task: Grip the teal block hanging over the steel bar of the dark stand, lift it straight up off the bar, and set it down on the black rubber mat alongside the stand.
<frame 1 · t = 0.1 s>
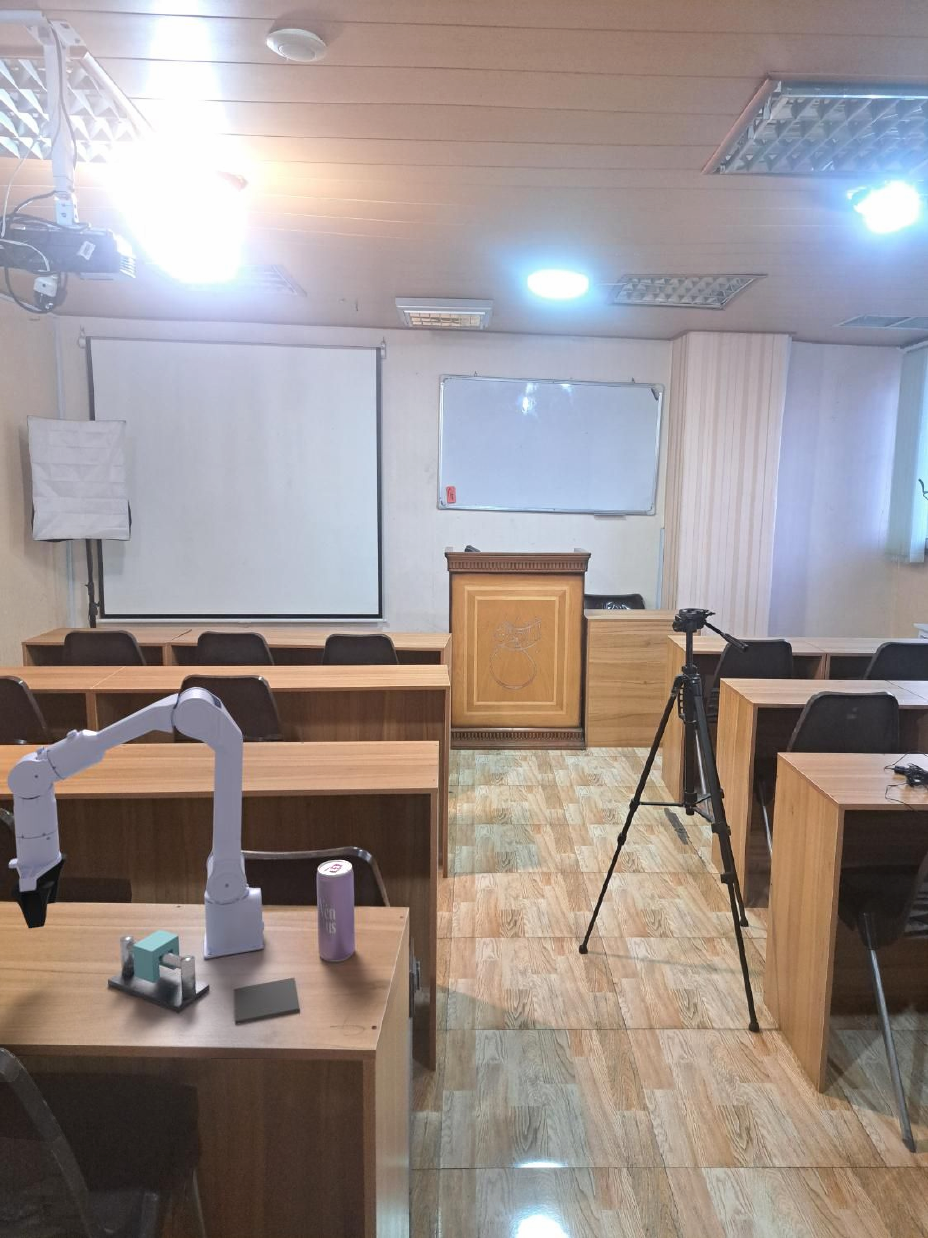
hand: (42, 914, 116), 10 cm above the table, tool pointing down, fingers open, 7 cm apart
stand: (158, 988, 113), on the table
mat: (266, 1001, 110), on the table
teal block: (157, 971, 113), point 3 cm above the table, touching stand
beverage can: (336, 954, 123), on the table
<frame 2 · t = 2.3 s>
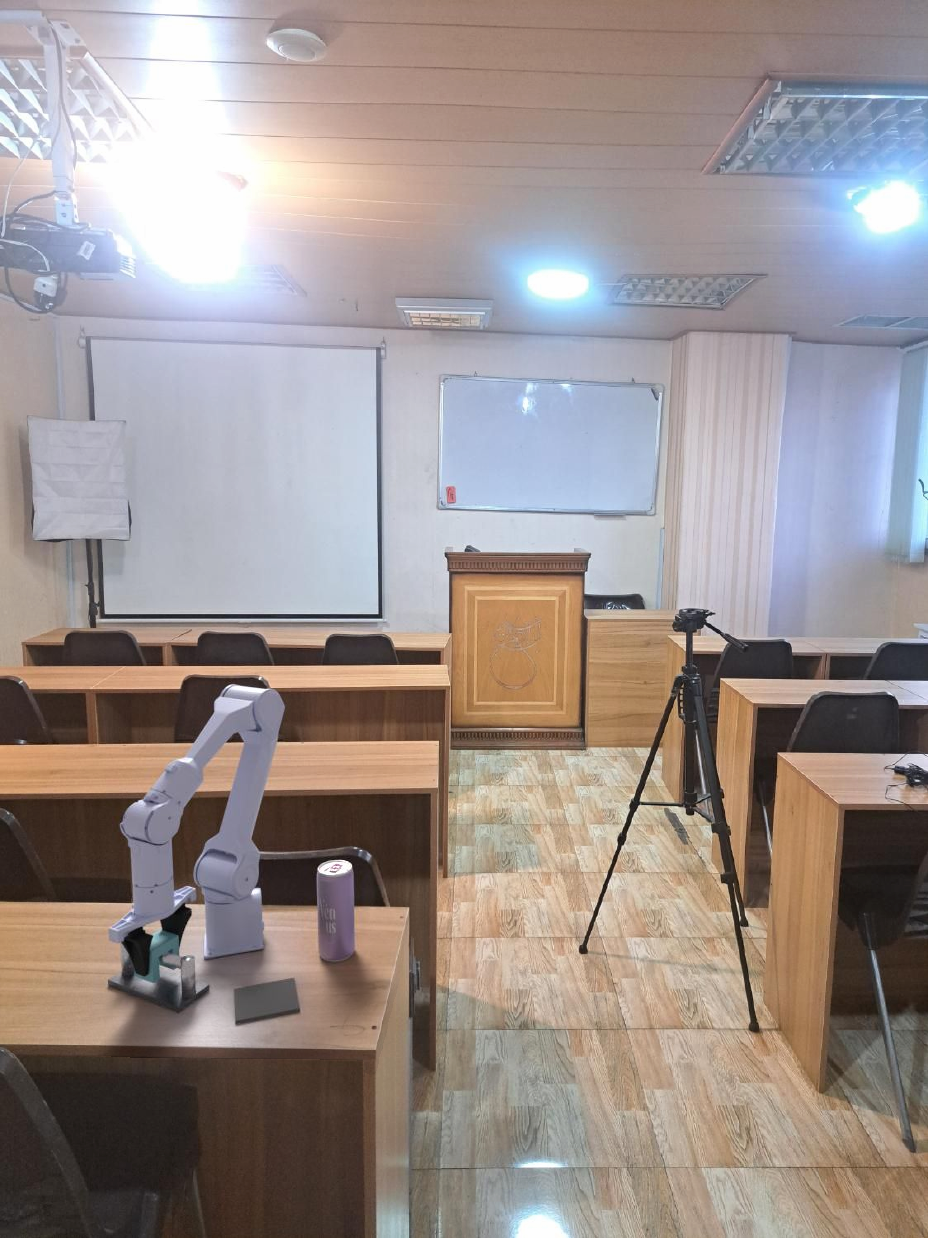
hand: (157, 964, 113), 4 cm above the table, tool pointing down, fingers closed on teal block, 5 cm apart
teal block: (157, 971, 113), point 3 cm above the table, touching gripper, stand
everything else where it was.
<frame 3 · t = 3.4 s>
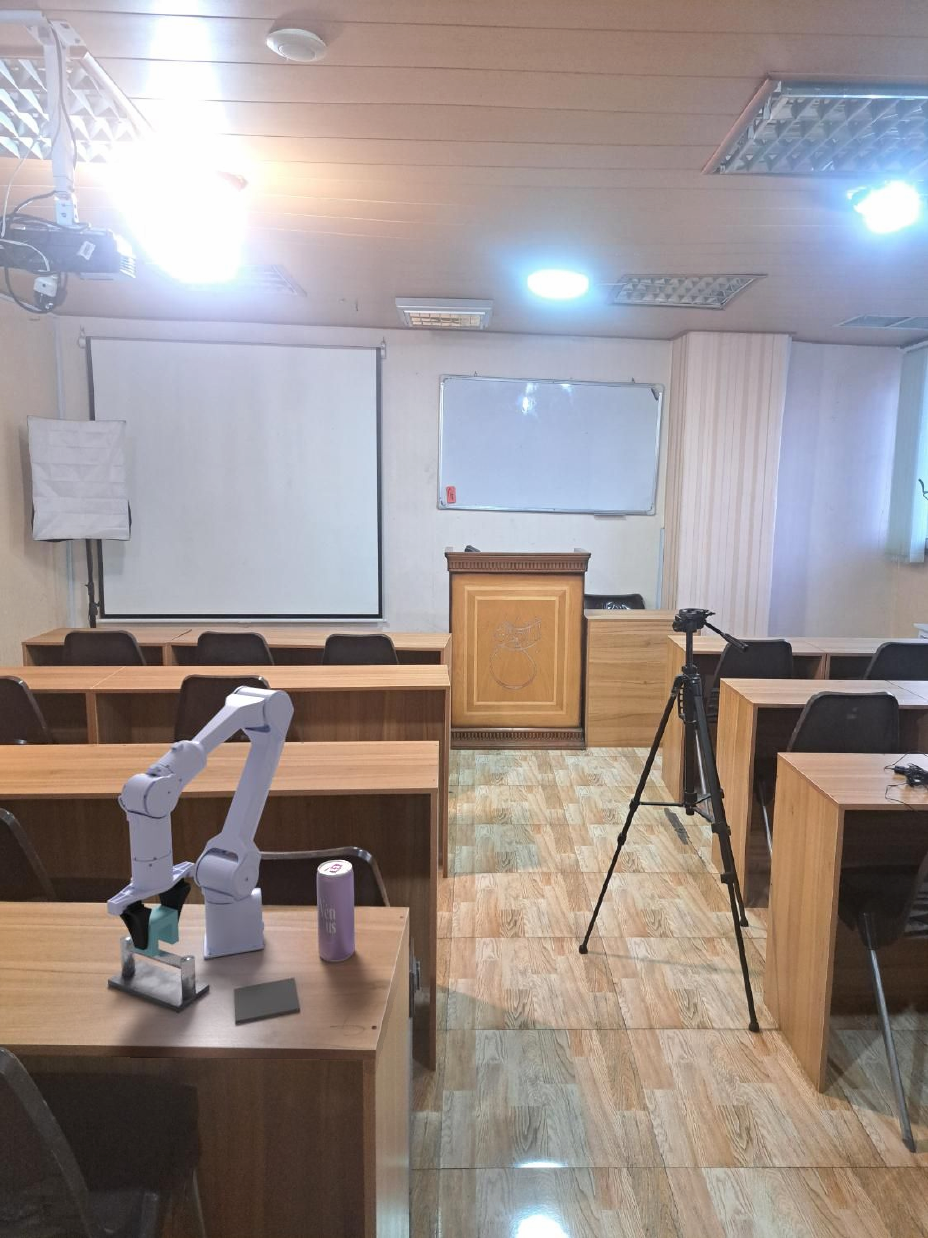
hand: (156, 938, 112), 8 cm above the table, tool pointing down, fingers closed on teal block, 5 cm apart
teal block: (156, 945, 113), point 7 cm above the table, touching gripper
everything else where it was.
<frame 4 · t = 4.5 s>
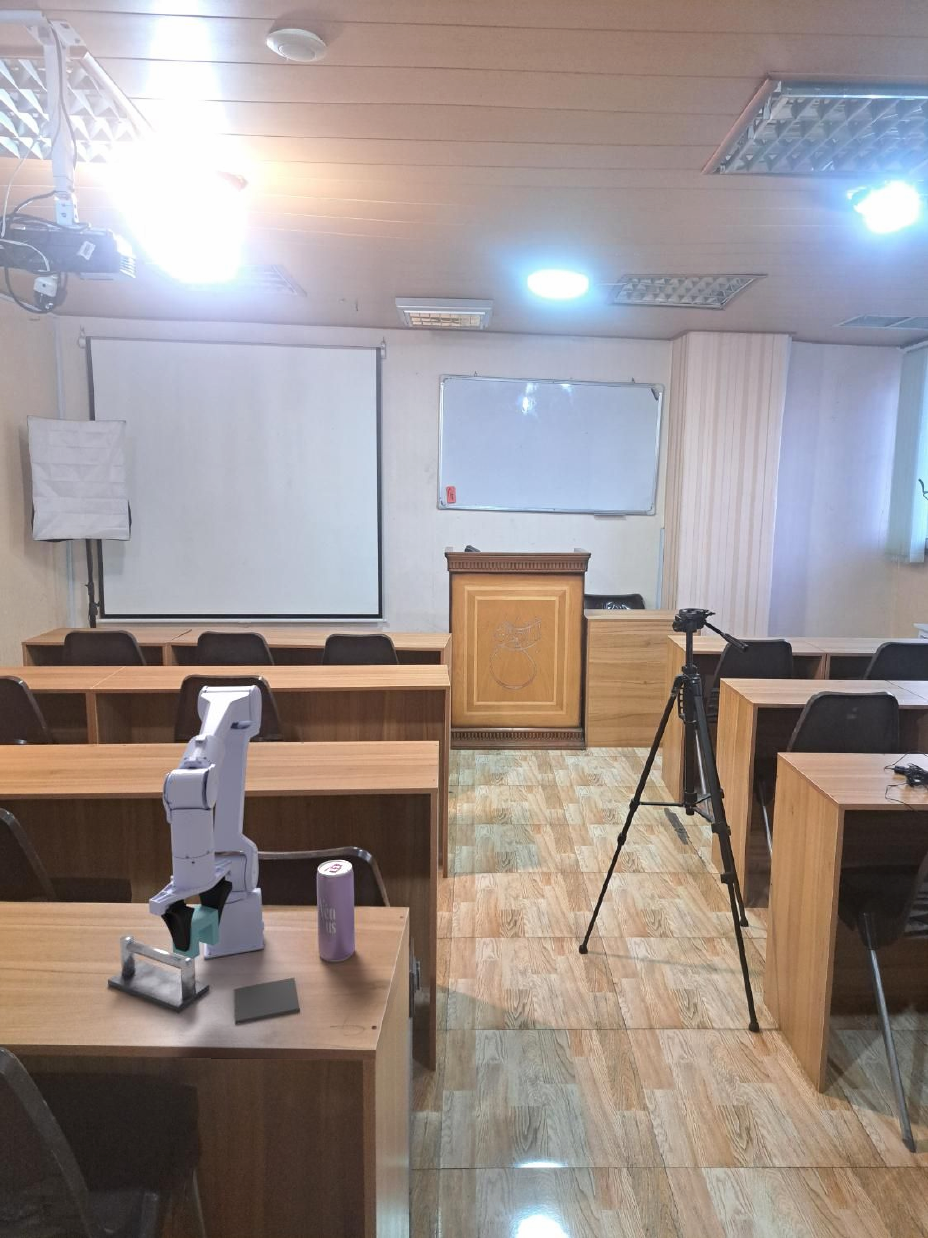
hand: (197, 940, 108), 10 cm above the table, tool pointing down, fingers closed on teal block, 5 cm apart
teal block: (196, 947, 108), point 9 cm above the table, touching gripper
everything else where it was.
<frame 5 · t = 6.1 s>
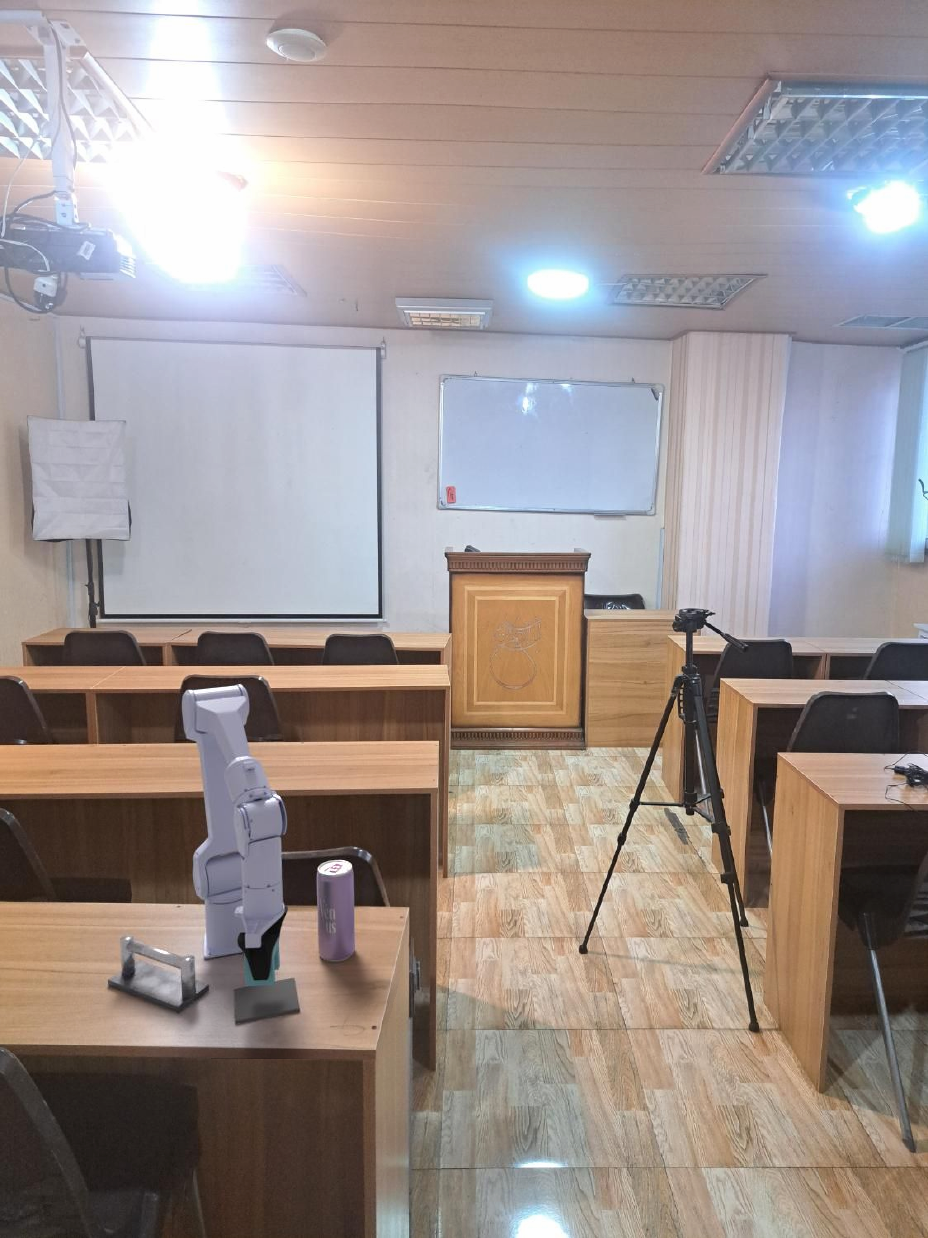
hand: (265, 968, 109), 5 cm above the table, tool pointing down, fingers closed on teal block, 5 cm apart
teal block: (263, 975, 109), point 4 cm above the table, touching gripper
everything else where it was.
when the fingers open (3 cm above the table, at t = 7.1 s): teal block drops 1 cm, resting on mat.
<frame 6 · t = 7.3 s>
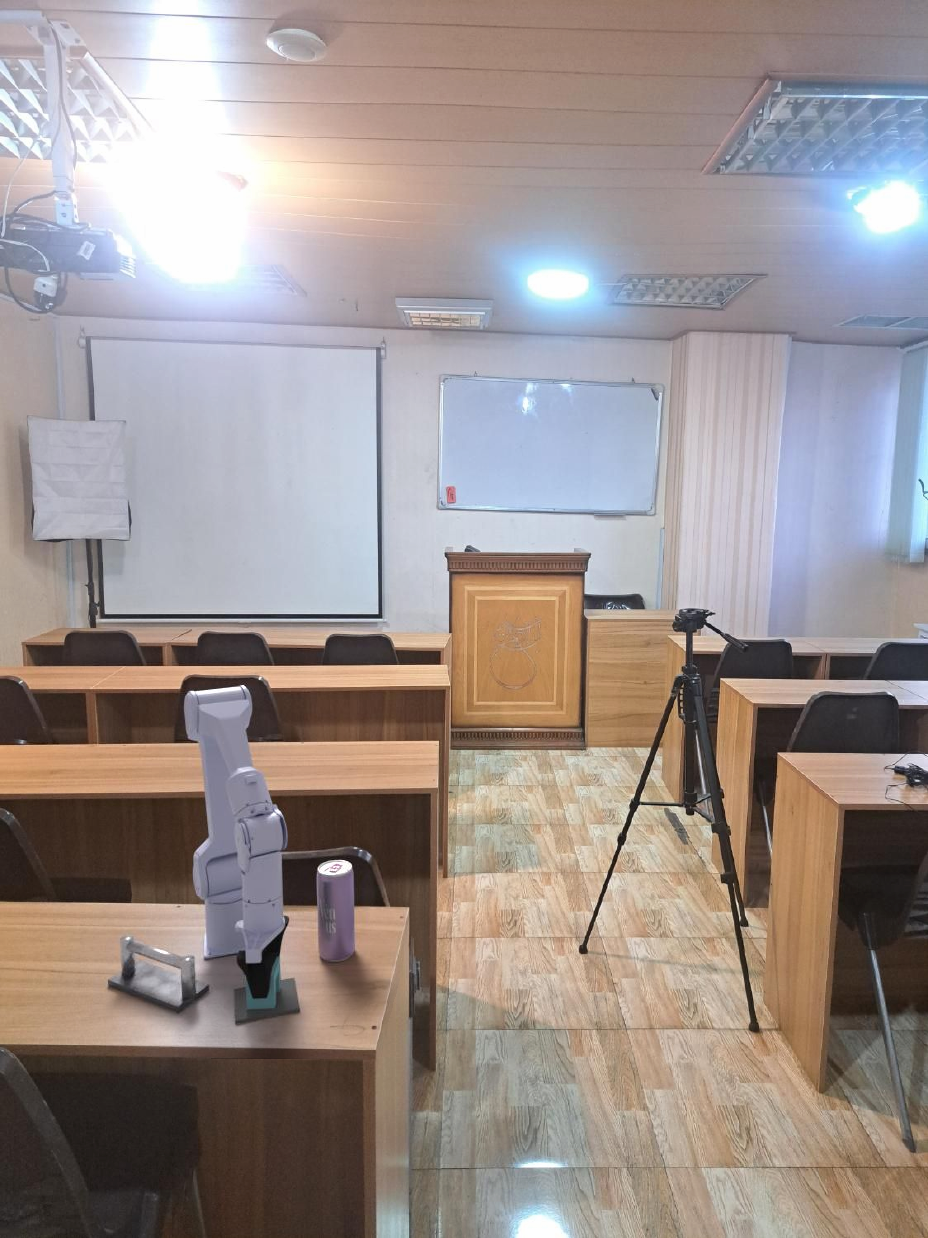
hand: (265, 982, 110), 3 cm above the table, tool pointing down, fingers open, 7 cm apart
teal block: (264, 998, 110), resting on mat
everything else where it was.
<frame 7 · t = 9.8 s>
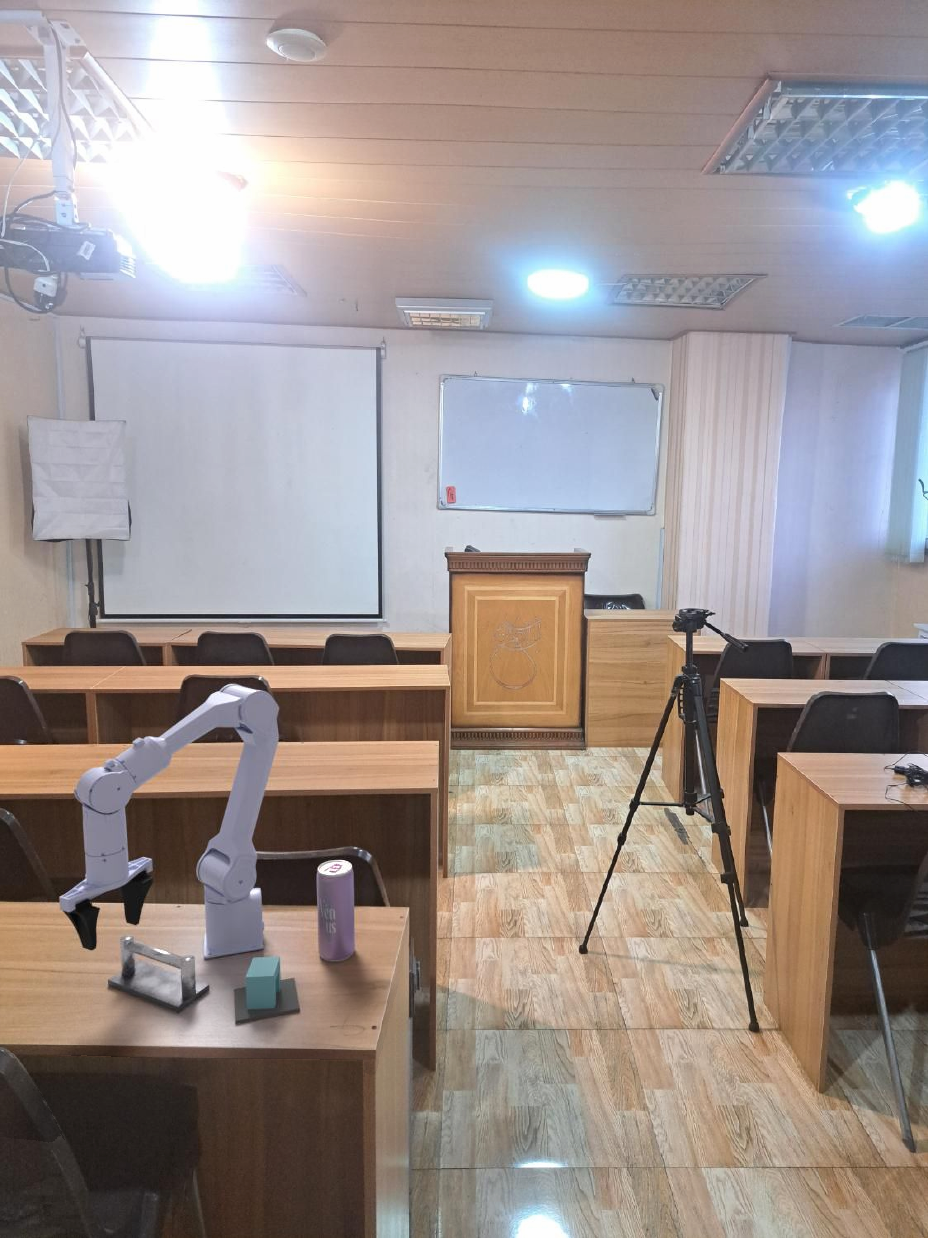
hand: (111, 935, 111), 9 cm above the table, tool pointing down, fingers open, 7 cm apart
nothing on the table moved.
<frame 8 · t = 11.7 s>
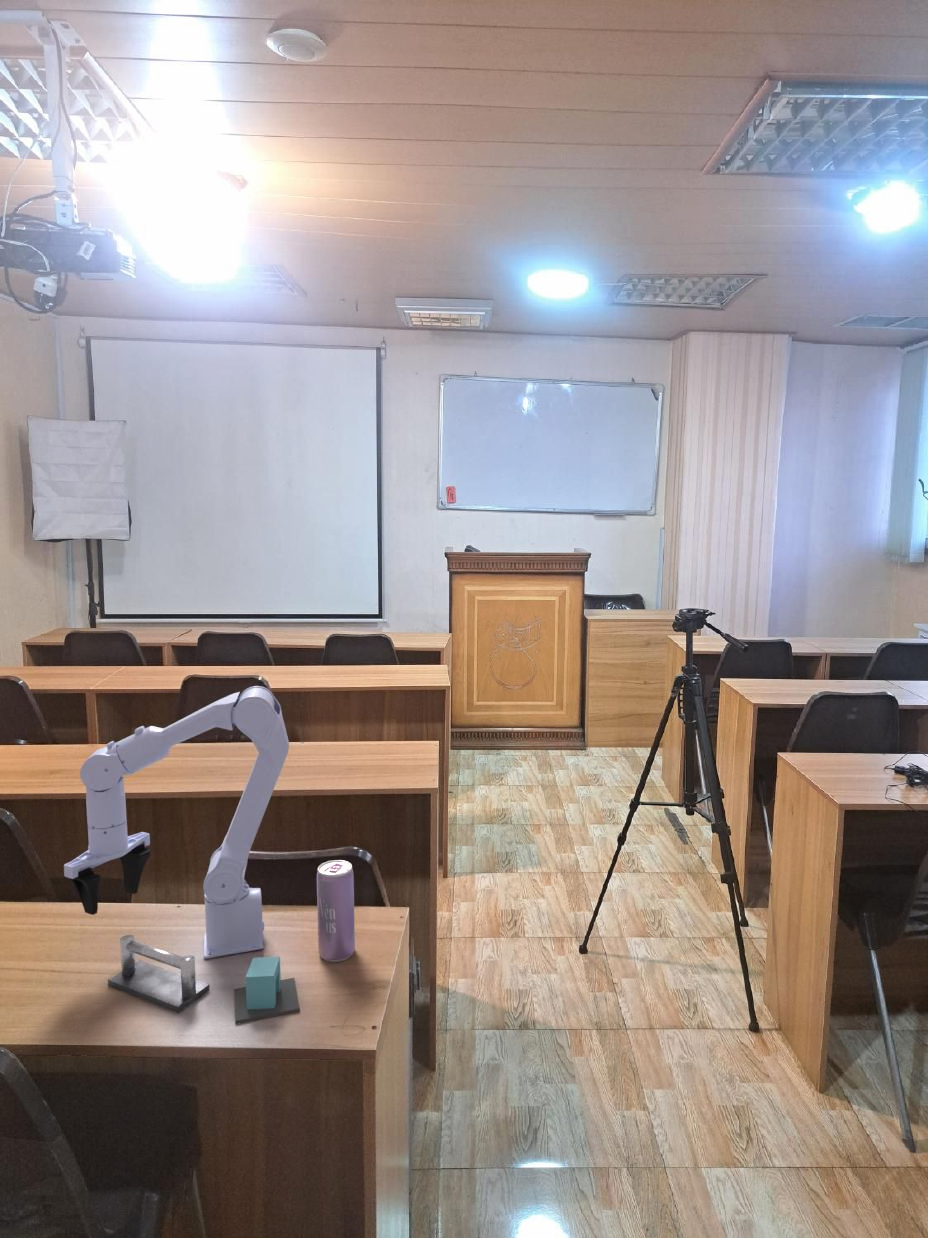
hand: (111, 902, 121), 9 cm above the table, tool pointing down, fingers open, 7 cm apart
nothing on the table moved.
at the end: teal block inside the target area on the mat (0.3 cm from its centre), point 0.5 cm above the mat's base; teal block touching mat; the gripper is holding nothing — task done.
